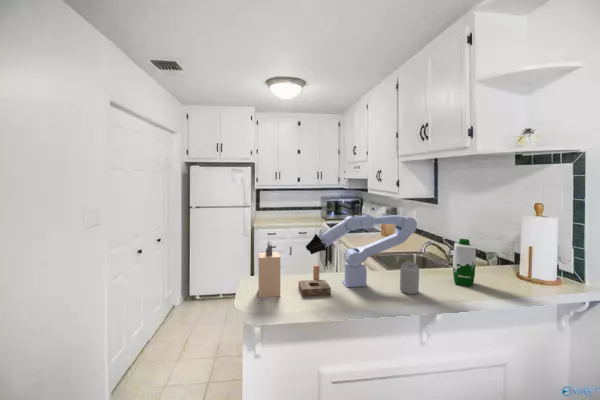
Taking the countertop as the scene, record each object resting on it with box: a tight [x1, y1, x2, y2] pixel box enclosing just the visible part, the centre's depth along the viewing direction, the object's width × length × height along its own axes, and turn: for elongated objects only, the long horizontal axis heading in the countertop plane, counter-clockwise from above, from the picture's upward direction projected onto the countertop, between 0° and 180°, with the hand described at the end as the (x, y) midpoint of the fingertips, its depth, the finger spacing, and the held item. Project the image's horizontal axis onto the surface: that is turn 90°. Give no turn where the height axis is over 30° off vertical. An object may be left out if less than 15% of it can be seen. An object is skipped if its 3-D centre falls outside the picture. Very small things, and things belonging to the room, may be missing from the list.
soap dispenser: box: [257, 240, 281, 298], centre depth 123 cm, size 13×9×22 cm
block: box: [298, 279, 332, 298], centre depth 127 cm, size 12×10×3 cm
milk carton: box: [452, 238, 477, 287], centre depth 137 cm, size 9×9×20 cm
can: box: [399, 262, 420, 295], centre depth 127 cm, size 8×8×12 cm
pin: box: [312, 264, 320, 280], centre depth 137 cm, size 3×3×8 cm
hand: (308, 250), depth 134 cm, fingers open, 7 cm apart
